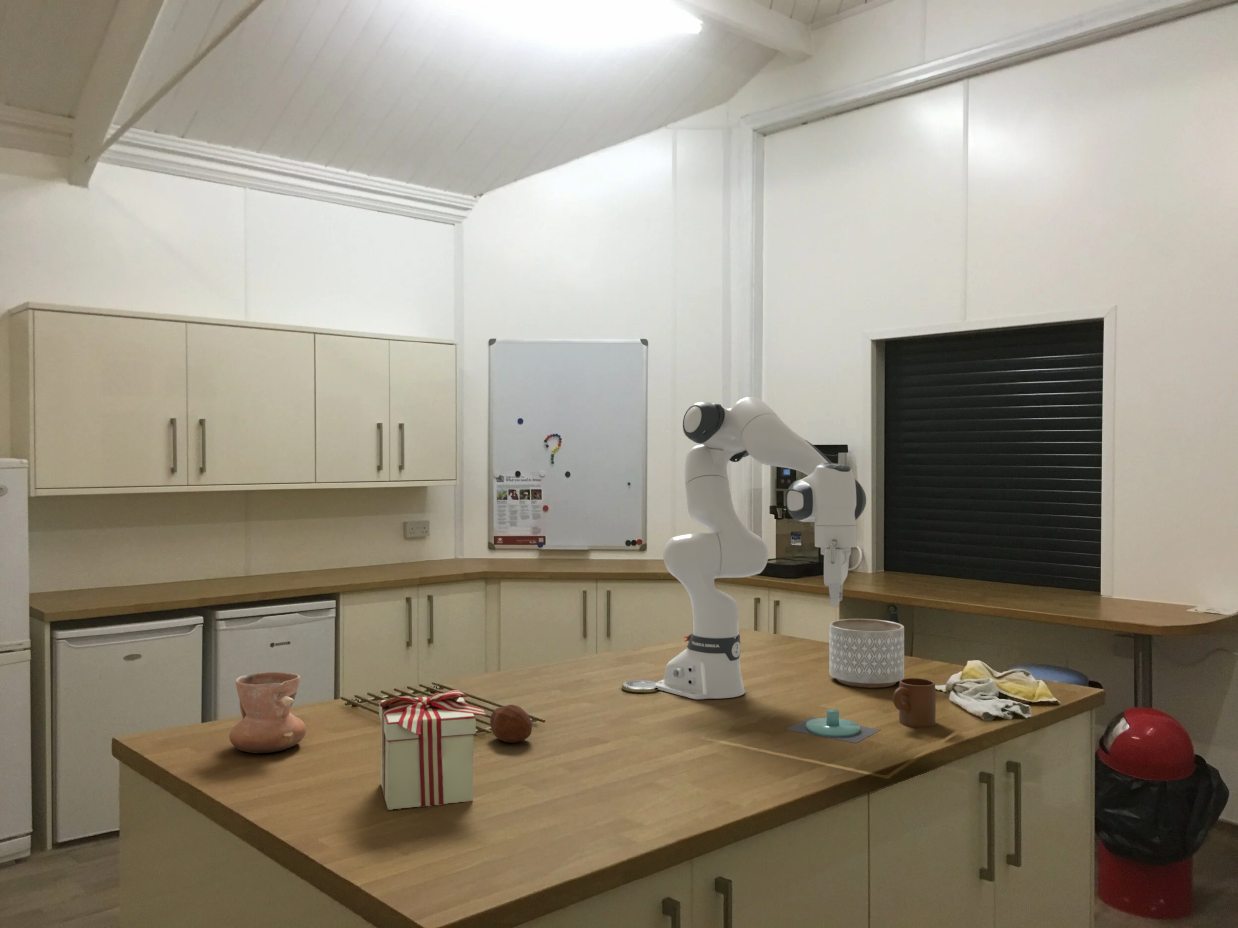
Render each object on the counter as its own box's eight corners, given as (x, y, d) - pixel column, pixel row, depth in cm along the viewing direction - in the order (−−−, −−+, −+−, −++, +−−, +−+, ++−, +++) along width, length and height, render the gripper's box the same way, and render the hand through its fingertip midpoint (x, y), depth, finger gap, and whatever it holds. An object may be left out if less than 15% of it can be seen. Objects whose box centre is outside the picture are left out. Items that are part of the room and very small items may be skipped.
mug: (910, 736, 206) (910, 690, 206) (879, 728, 212) (879, 684, 211) (942, 725, 213) (942, 682, 213) (912, 718, 219) (912, 675, 219)
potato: (509, 731, 209) (509, 696, 209) (544, 741, 202) (544, 705, 202) (478, 740, 203) (478, 704, 203) (513, 751, 196) (513, 713, 196)
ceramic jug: (323, 748, 198) (322, 676, 198) (254, 764, 187) (253, 689, 187) (278, 732, 210) (278, 665, 210) (211, 746, 200) (210, 676, 200)
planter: (912, 678, 258) (913, 622, 258) (891, 692, 242) (891, 634, 242) (843, 669, 268) (843, 616, 268) (818, 683, 252) (818, 626, 252)
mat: (785, 731, 209) (785, 729, 209) (811, 719, 218) (811, 716, 218) (856, 745, 199) (856, 742, 199) (880, 732, 208) (880, 729, 208)
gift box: (391, 820, 160) (391, 713, 159) (372, 784, 177) (371, 688, 176) (494, 804, 166) (493, 702, 166) (465, 772, 183) (465, 679, 183)
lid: (796, 730, 208) (796, 711, 208) (820, 719, 216) (820, 701, 216) (845, 740, 201) (845, 720, 201) (868, 728, 209) (868, 709, 209)
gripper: (847, 541, 201) (848, 610, 201) (853, 536, 221) (854, 598, 221) (816, 541, 203) (817, 609, 203) (824, 536, 223) (825, 597, 222)
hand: (836, 603), depth 212 cm, fingers open, 8 cm apart
